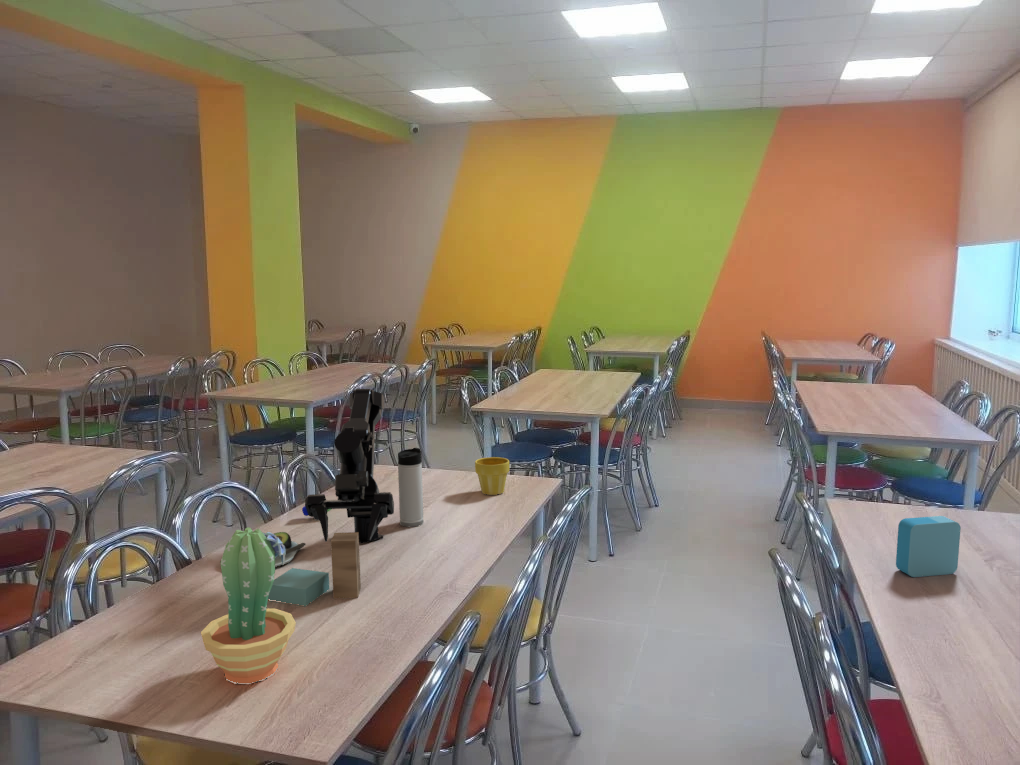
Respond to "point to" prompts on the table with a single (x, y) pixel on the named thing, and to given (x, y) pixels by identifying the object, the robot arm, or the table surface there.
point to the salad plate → (287, 548)
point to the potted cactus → (249, 610)
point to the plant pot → (492, 474)
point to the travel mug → (410, 487)
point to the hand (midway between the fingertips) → (347, 540)
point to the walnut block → (345, 565)
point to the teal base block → (299, 586)
